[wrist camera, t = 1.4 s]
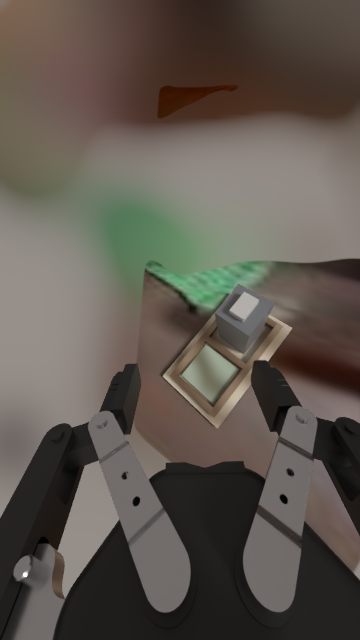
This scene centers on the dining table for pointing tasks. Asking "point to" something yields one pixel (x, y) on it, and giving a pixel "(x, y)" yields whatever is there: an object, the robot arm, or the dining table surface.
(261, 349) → the dock
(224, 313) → the plug
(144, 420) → the dining table surface
